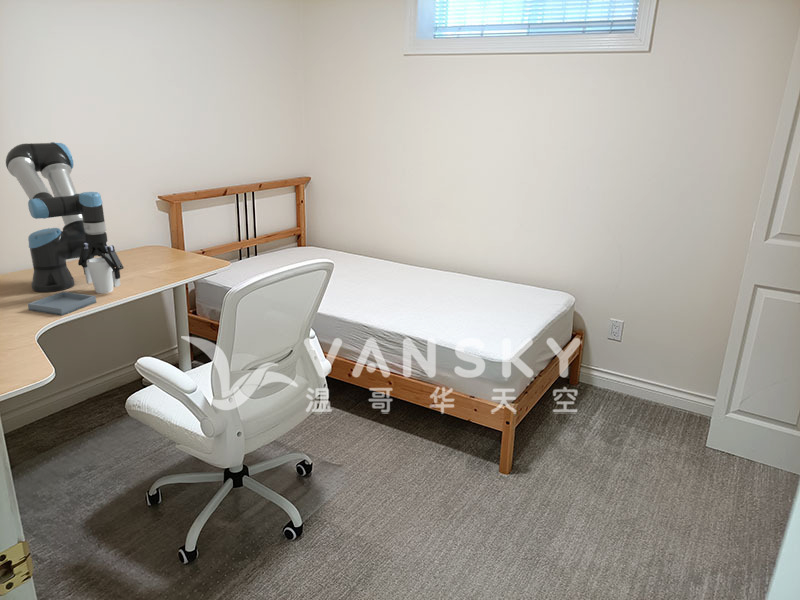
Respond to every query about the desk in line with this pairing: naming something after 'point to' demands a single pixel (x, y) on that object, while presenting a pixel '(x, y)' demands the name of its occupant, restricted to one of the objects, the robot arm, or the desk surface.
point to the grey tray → (62, 303)
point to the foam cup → (100, 274)
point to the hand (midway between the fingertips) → (103, 284)
